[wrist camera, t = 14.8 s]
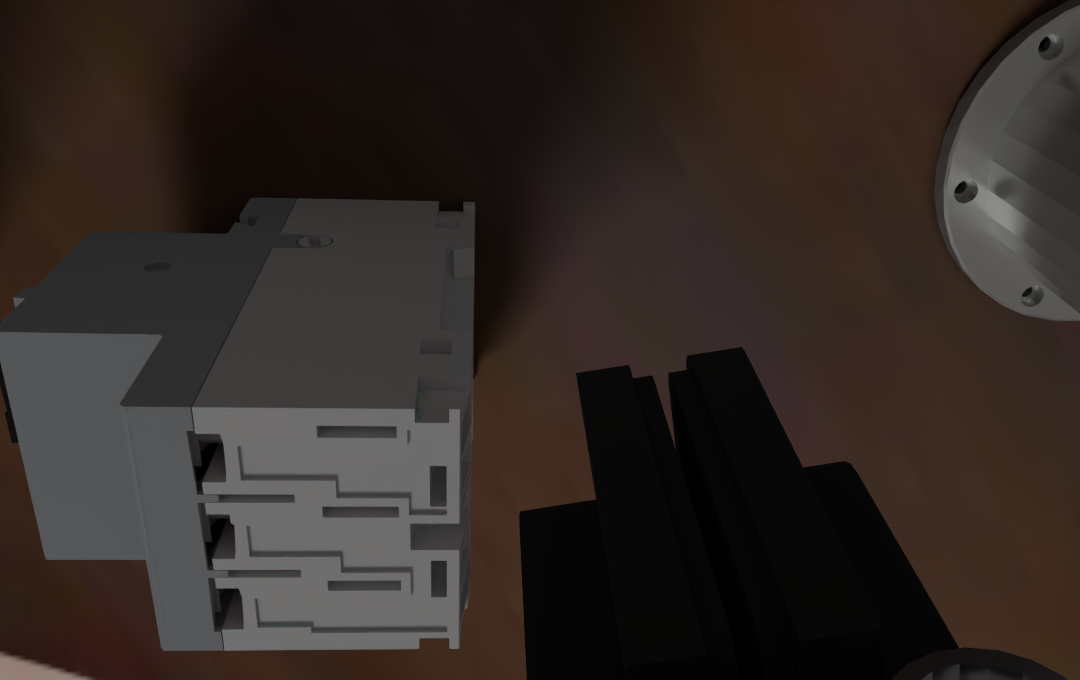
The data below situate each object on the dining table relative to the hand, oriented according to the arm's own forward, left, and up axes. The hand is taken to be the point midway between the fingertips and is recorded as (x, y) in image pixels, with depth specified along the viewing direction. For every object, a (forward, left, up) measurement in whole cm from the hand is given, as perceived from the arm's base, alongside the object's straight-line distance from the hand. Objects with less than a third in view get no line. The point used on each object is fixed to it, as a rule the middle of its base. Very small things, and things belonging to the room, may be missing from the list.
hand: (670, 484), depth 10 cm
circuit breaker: (+11, +8, -27) cm, 30 cm away
